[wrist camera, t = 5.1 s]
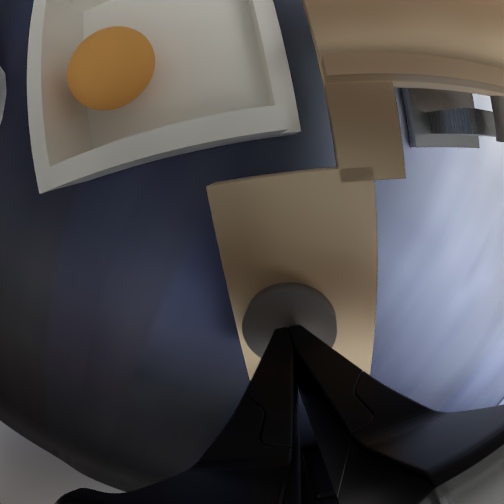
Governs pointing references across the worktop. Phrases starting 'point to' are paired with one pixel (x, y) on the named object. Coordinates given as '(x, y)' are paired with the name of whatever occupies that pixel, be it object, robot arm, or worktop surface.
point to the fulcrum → (445, 118)
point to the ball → (111, 68)
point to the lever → (347, 168)
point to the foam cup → (2, 92)
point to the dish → (157, 84)
